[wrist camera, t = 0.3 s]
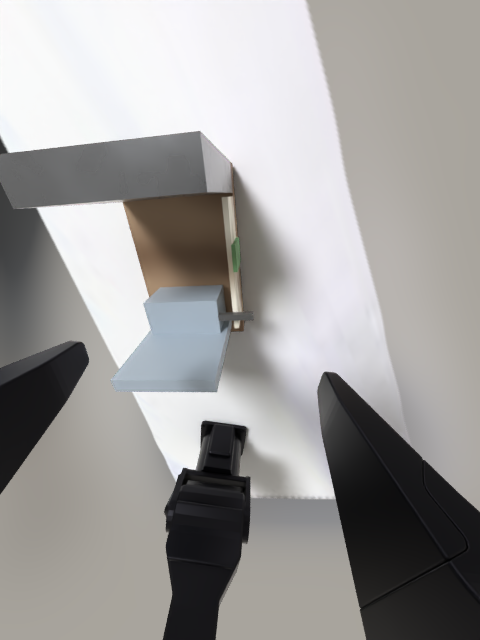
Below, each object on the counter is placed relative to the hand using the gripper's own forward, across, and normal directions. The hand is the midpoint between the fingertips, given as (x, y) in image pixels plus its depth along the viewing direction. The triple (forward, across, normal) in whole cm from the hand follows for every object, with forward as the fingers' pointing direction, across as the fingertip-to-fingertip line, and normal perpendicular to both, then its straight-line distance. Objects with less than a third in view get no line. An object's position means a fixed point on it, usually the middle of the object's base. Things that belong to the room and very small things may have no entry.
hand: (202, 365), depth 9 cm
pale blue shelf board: (+13, +3, +5) cm, 14 cm away
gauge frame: (+15, +4, +1) cm, 16 cm away
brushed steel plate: (+14, +5, -5) cm, 16 cm away
